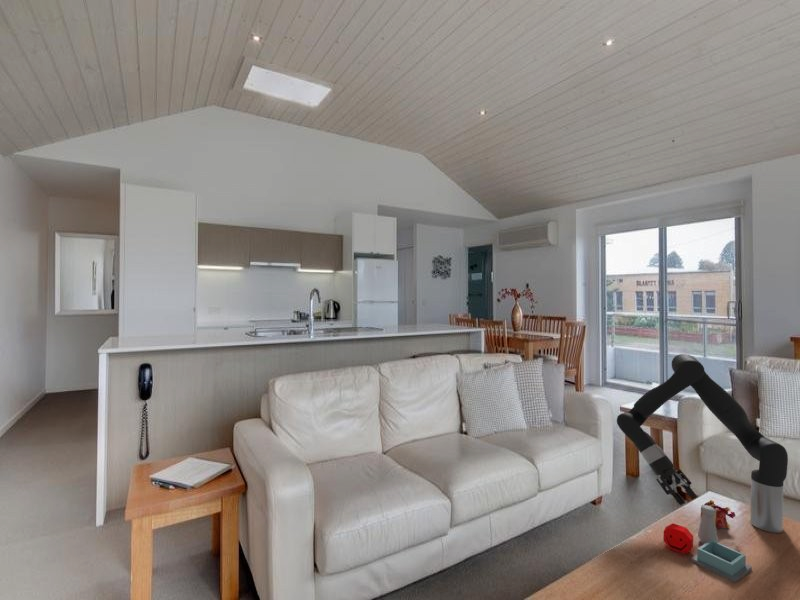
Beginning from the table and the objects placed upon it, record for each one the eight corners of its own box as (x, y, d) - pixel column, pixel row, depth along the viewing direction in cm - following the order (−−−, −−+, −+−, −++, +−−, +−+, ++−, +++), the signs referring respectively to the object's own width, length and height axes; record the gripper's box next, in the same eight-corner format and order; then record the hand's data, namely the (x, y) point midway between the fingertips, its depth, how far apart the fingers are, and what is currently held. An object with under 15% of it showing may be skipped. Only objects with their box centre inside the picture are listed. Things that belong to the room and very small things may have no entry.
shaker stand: (708, 549, 143) (708, 537, 143) (751, 569, 133) (751, 555, 133) (691, 561, 137) (691, 547, 137) (734, 582, 127) (735, 568, 127)
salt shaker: (721, 549, 144) (722, 512, 144) (702, 547, 145) (703, 510, 145) (712, 539, 149) (712, 503, 149) (694, 537, 151) (695, 502, 150)
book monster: (711, 518, 163) (744, 537, 152) (694, 522, 161) (726, 541, 149) (713, 492, 163) (746, 509, 151) (695, 496, 160) (727, 513, 149)
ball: (661, 549, 144) (662, 527, 143) (667, 539, 149) (667, 518, 149) (689, 559, 138) (690, 537, 138) (694, 549, 144) (694, 527, 144)
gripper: (654, 458, 156) (687, 502, 146) (674, 451, 163) (706, 492, 154) (639, 467, 161) (671, 510, 151) (659, 460, 168) (690, 500, 158)
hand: (689, 501), depth 152 cm, fingers open, 8 cm apart
